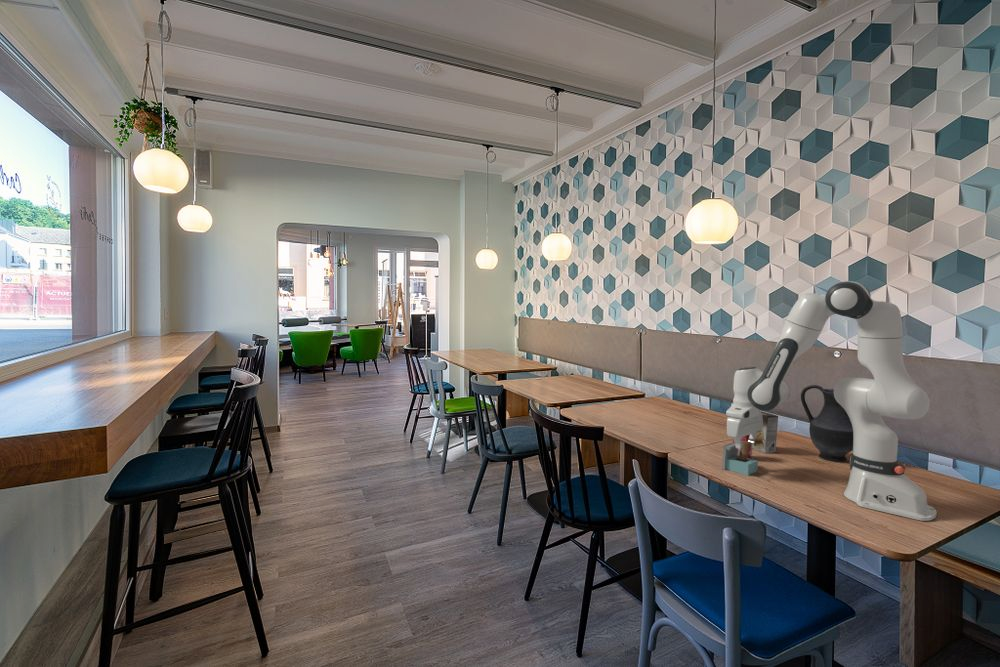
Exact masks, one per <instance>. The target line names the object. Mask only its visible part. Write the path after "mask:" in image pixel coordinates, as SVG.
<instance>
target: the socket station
mask: <svg viewBox="0 0 1000 667" xmlns="http://www.w3.org/2000/svg"><path fill="white" fill-rule="evenodd" d="M738 459H739V456H738V448H736V443H735V442H733V441H732V442H731V443H728V444H724V445H723V446H722V463H721V464H722V465H721V467H722V468H721V469H722V470H723V471H725V470H727V471H731V472H734V473H738V474H740V475H741V474H742V475H745V476H751V475H752V474H755V473H757V472H758V466H759V460H756V459H753V458H747V459H746V462H742V461H738Z"/></svg>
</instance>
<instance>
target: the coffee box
mask: <svg viewBox="0 0 1000 667" xmlns="http://www.w3.org/2000/svg"><path fill="white" fill-rule="evenodd" d="M760 412H761V413H762V418H763V428H762V430H760V431H758V432H757V435H756V438H755V443H753V445H752V450H756V451H759V452H761V453H764V454H771V453H776V452H777V451H776V449H777V437H778V427H779V426H778V424H779V415H776V414H774V413H773V414H772V413H770V412H765V411H764V410H760Z"/></svg>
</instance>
